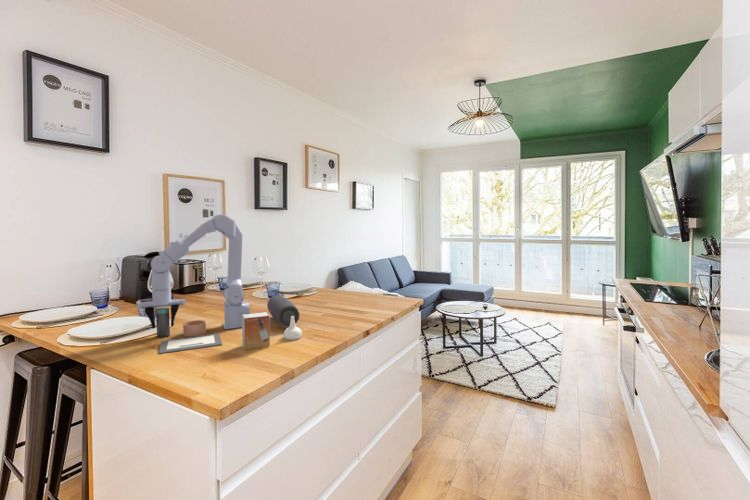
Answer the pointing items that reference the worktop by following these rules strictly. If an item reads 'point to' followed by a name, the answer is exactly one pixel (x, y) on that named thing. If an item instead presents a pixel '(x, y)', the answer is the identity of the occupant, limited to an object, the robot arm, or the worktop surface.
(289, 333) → the garlic bulb
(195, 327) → the pen cup
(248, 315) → the small box
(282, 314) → the bluetooth speaker
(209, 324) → the worktop surface
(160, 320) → the marker
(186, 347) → the writing mat
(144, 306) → the robot arm
